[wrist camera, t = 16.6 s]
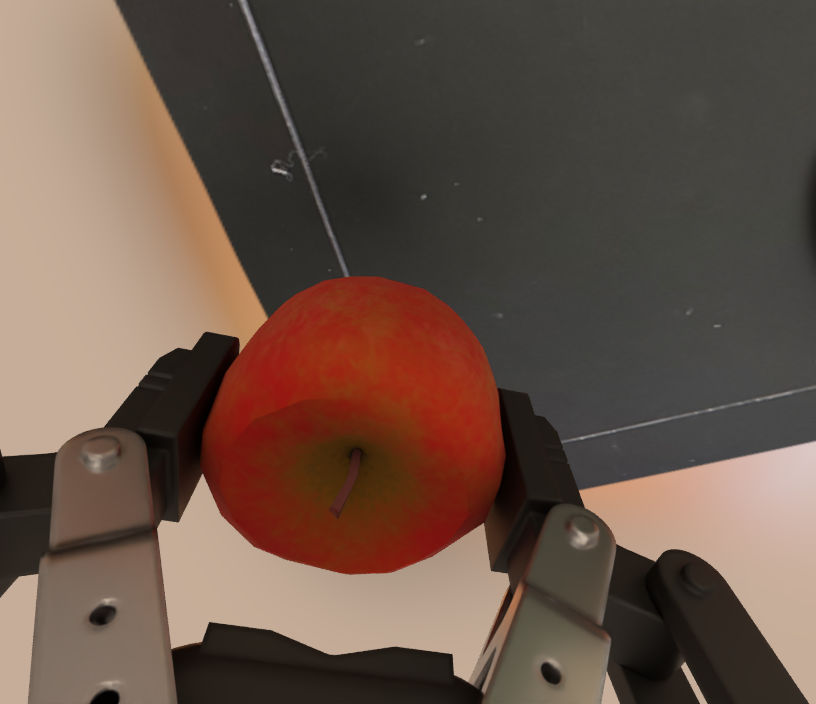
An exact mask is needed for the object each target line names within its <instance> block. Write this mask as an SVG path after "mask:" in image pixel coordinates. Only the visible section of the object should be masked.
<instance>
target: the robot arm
mask: <svg viewBox="0 0 816 704" xmlns="http://www.w3.org/2000/svg"><path fill="white" fill-rule="evenodd" d="M239 346H240V344H239V339H238V338H237V337H232V336H227V335H221V334H216V333H211V332H205V333H204V334H203V335H202V337H201V338H200V339H199V341H198V342H197V343H196V345H195V346H194V348H193V349H192V350H187V349H181V348H177V349H175V350H173V351H171V352H169V353H168V354H166V355H164V356H162V357H160V358H159V359H158V360H157V361H156V363H155V364H154V365H153V367H152V368H151V369H150V370H149V372H148V375H145V376H144V378H143V379H142V380H141V381H140V383H139V386H138V387H136V388H135V389H134V390H133V392H132V393H131V394H130V395H129V396H128V398H127V399H126V400H125V401H124V403H123V404H122V405H121V406H120V408H119V409H118V410H117V411H116V413H115V414H114V415H113V416H112V418H111V419H110V420H109V421H108V423H107V424H106V425H105V427H104V428H98V429H93V430H89V431H86V432H83V433H81V434H79V435H77V436H75V437H73V438H71V439H70V440H68V441H67V442H66V443H65V444H64V445H63V446H62V447H61V448H60V449H59V451H58V452H55V453H48V454H36V455H19V456H4V457H2V454H1V450H0V597H1V596H2V595H3V594H4V593H5V592H6V590H7V589H8V588H9V587H10V586H11V585H12V583H13V582H14V581H15V580H16V579H17V578H18V577H19V576H26V575H33V574H39V576H38V588H37V600H36V612H35V624H34V636H33V648H32V661H31V672H30V684H29V696H28V704H601V701H602V694H603V689H604V683H605V677H606V671H607V672H608V675H609V677H610V680H611V682H612V685H613V687H614V690H615V692H616V695H617V697H618V700H619V702H620V704H700V703H699V701H698V699H697V697H696V695H695V693H694V692H693V689H692V688H691V686H690V684H689V682H688V680H687V678H686V676H685V674H684V672H683V670H682V668H681V666H682V664H683V663H684V662H686V664H687V666H688V668H689V669H690V671H691V673H692V675H693V677H694V679H695V681H696V683H697V685H698V686H699V688H700V690H701V692H702V694H703V696H704V698H705V700H706V701H707V703H708V704H809V703H808V701H807V700H806V698H805V697H804V695H803V694H802V693H801V691H800V690H799V688H798V687H797V685H796V684H795V683H794V681H793V679H792V678H791V676H790V675H789V673H788V672H787V670H786V669H785V668H784V666H783V664H782V663H781V662H780V660H779V659H778V657H777V656H776V654H775V653H774V651H773V650H772V648H771V647H770V645H769V644H768V642H767V641H766V640H765V638H764V637H763V635H762V634H761V632H760V631H759V629H758V628H757V626H756V625H755V623H754V622H753V620H752V619H751V617H750V616H749V614H748V613H747V611H746V610H745V608H744V607H743V605H742V604H741V603H740V601H739V600H738V598H737V597H736V595H735V594H734V592H733V591H732V590H731V588H730V586H729V585H728V583H727V582H726V581H725V579H724V578H723V577H722V576H721V575H720V573H719V572H718V571H716V569H714V568H713V567H712V566H711V565H710V564H708V563H707V562H706V561H704V560H703V559H701V558H700V557H697V556H696V555H694V554H691V553H689V552H686V551H683V550H677V549H671V550H667V551H665V552H663V553H662V555H661V556H660V557H659V558H658V560H657V561H656V562H655V561H653V560H650V559H648V558H646V557H643V556H641V555H638V554H637V553H634V552H632V551H629V550H627V549H625V548H623V547H621V546H619V545H617V544H616V540H615V538H614V535H613V533H612V531H611V530H610V528H609V527H608V526H607V525H606V524H605V522H604V521H603V520H602V519H600V518H599V517H598V516H597V515H595V514H594V513H593V512H591V511H589V510H588V509H585V507H584V504H583V501H582V499H581V496H580V493H579V490H578V488H577V485H576V482H575V480H574V477H573V474H572V471H571V469H570V466H569V464H567V461H568V460H567V458H566V455H565V452H564V451H562V449H563V447H562V444H561V441H560V439H559V436H558V433H557V431H556V430H555V429H554V428H553V427H552V426H551V424H550V423H549V422H548V421H547V420H546V418H545V417H542V416H536V415H535V414H534V411H533V408H532V405H531V402H530V398H529V396H528V394H526V393H521V392H516V391H511V390H505V389H500V388H498V389H497V390H498V394H499V406H500V417H501V429H502V435H503V441H504V447H505V453H506V458H505V464H504V469H503V474H502V479H501V484H500V487H499V489H498V492H497V494H496V497H495V499H494V502H493V504H492V507H491V509H490V511H489V514H488V516H487V519H486V521H485V522H484V526H485V533H486V540H487V547H488V554H489V560H490V567H491V571H494V572H501V573H508V576H509V581H510V585H509V587H508V589H507V591H506V593H505V595H504V597H503V600H502V602H501V605H500V607H499V610H498V612H497V615H496V617H495V619H494V622H493V625H492V627H491V629H490V632H489V634H488V637H487V639H486V642H485V644H484V647H483V649H482V652H481V654H480V657H479V659H478V662H477V664H476V666H475V669H474V671H473V673H472V676H471V677H470V680H469V682H466V681H465V680H463V679H461V678H459V677H457V676H455V675H454V671H453V655H452V654H447V653H439V652H432V651H424V650H417V649H409V648H401V647H389V648H382V649H376V650H368V651H362V652H355V653H348V654H341V655H329V654H326V653H324V652H321V651H319V650H317V649H314V648H312V647H309V646H307V645H305V644H302V643H300V642H297V641H295V640H293V639H290V638H288V637H286V636H283V635H281V634H279V633H276V632H274V631H271V630H265V629H257V628H249V627H242V626H235V625H227V624H219V623H212V622H209V624H208V627H207V630H206V633H205V635H204V638H203V641H202V642H199V643H193V644H188V645H184V646H180V647H177V648H173V649H171V644H170V635H169V626H168V618H167V610H166V601H165V592H164V584H163V576H162V567H161V558H160V550H159V542H158V533H157V528H158V526H159V524H160V522H161V520H166V521H172V522H179V521H180V519H181V517H182V514H183V512H184V510H185V508H186V506H187V504H188V502H189V500H190V498H191V496H192V494H193V492H194V490H195V488H196V486H197V483H198V482H199V480H200V477H201V475H202V470H201V468H200V457H201V444H202V430H203V427H204V424H205V422H206V419H207V417H208V414H209V412H210V409H211V407H212V404H213V402H214V400H215V397H216V395H217V392H218V390H219V387H220V385H221V382H222V380H223V377H224V375H225V373H226V371H227V370H228V369H229V367H230V366H231V365H232V363H233V362H234V361H235V359H236V358H237V357H238V355H239Z"/></svg>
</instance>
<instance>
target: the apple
mask: <svg viewBox="0 0 816 704" xmlns="http://www.w3.org/2000/svg"><path fill="white" fill-rule="evenodd" d="M505 458H506V453H505V447H504V441H503V435H502V429H501V417H500V406H499V394H498V390H497V387H496V384H495V380H494V377H493V374H492V370H491V368H490V365H489V362H488V360H487V357H486V354H485V352H484V349H483V347H482V346H481V344H480V343H479V341H478V340H477V338H476V337H475V335H474V334H473V332H472V331H471V330H470V329H469V327H468V326H467V325H466V324H465V323H464V322H463V320H462V319H461V318H460V317H459V316H458V314H457V313H455V312H454V311H453V310H452V309H451V308H450V307H449V306H448V305H447V304H445V303H444V302H442V301H441V300H439V299H438V298H436V297H435V296H433V295H432V294H430V293H429V292H428V291H426V290H425V289H421V288H418V287H414V286H411V285H407V284H404V283H400V282H397V281H393V280H389V279H385V278H381V277H344V278H338V279H332V280H326V281H323V282H321V283H318V284H316V285H314V286H312V287H310V288H308V289H306V290H304V291H302V292H300V293H298V294H296V295H294V296H293V297H292V298H290V299H289V300H288V301H286V302H285V303H284V304H283V305H282V306H281V307H280V308H279V309H278V310H277V311H276V312H275V313H274V314H273V315H272V316H271V317H270V318H269V319H268V320H267V321H266V322H265V323H264V324H263V325H262V326H261V327H260V328H259V329H258V331H257V332H256V333H255V334H254V335H253V337H252V338H251V339H250V341H249V342H248V343H247V345H246V346H245V347H244V349H243V350H242V351H241V353H240V354H239V355H238V357H237V358H236V359H235V361H234V362H233V363H232V365H231V366H230V367H229V369H228V370H227V371H226V373H225V375H224V377H223V380H222V382H221V385H220V387H219V390H218V392H217V395H216V397H215V400H214V402H213V404H212V407H211V409H210V412H209V414H208V417H207V419H206V422H205V424H204V427H203V430H202V444H201V457H200V468H201V470H202V473H203V474H204V477H205V479H206V482H207V484H208V486H209V489H210V491H211V493H212V495H213V498H214V500H215V502H216V504H217V507H218V509H219V511H220V513H221V515H222V516H223V517H224V518H225V519H226V520H227V521H228V522H229V523H230V524H231V525H232V526H233V527H234V528H235V529H236V530H237V531H238V532H239V533H240V534H241V535H242V536H243V537H244V538H246V540H248V541H249V542H250V543H251V544H252V545H253V546H254V547H256V548H259V549H261V550H263V551H266V552H268V553H271V554H274V555H276V556H279V557H281V558H283V559H286V560H289V561H293V562H297V563H302V564H306V565H310V566H314V567H318V568H322V569H326V570H330V571H334V572H338V573H343V574H350V575H351V574H370V573H389V572H394V571H397V570H399V569H402V568H404V567H407V566H409V565H412V564H415V563H417V562H419V561H422V560H425V559H427V558H430V557H432V556H434V555H435V554H437V553H438V552H440V551H441V550H443V549H445V548H446V547H448V546H449V545H451V544H452V543H454V542H455V541H457V540H458V539H460V538H461V537H463V536H464V535H466V534H467V533H469V532H470V531H472V530H473V529H475V528H476V527H478V526H479V525H481V524H482V523H484V522H485V521H486V519H487V516H488V514H489V511H490V509H491V507H492V504H493V502H494V499H495V497H496V494H497V492H498V489H499V487H500V484H501V479H502V474H503V469H504V464H505Z"/></svg>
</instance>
